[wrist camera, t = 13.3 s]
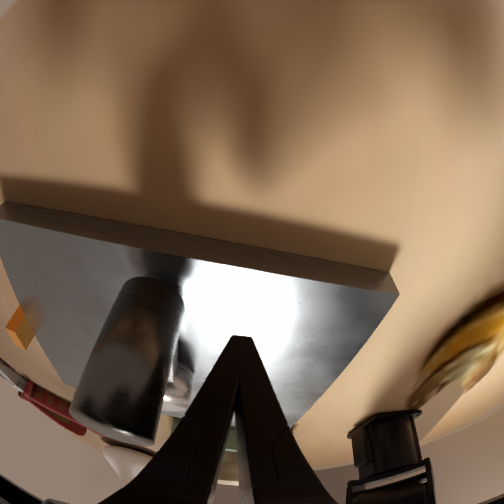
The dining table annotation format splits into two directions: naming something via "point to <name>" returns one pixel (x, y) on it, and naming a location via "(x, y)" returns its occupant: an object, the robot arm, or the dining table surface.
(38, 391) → the pliers
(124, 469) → the flower in vase
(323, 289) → the base
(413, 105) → the dining table surface
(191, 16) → the dining table surface
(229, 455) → the block
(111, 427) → the crank
